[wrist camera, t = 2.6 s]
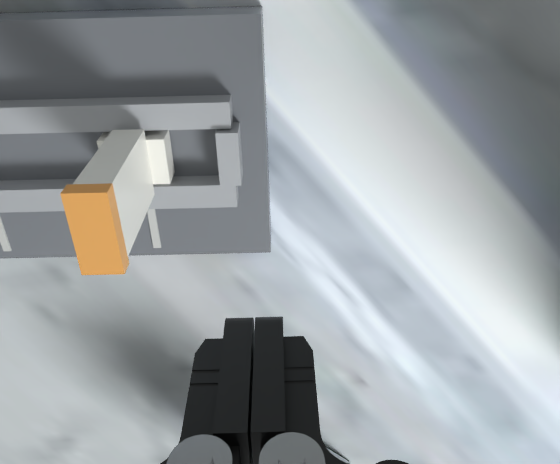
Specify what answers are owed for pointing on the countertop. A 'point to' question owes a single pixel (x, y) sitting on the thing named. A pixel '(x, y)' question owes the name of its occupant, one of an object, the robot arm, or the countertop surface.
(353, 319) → the countertop surface
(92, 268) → the fader tab
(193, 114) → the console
